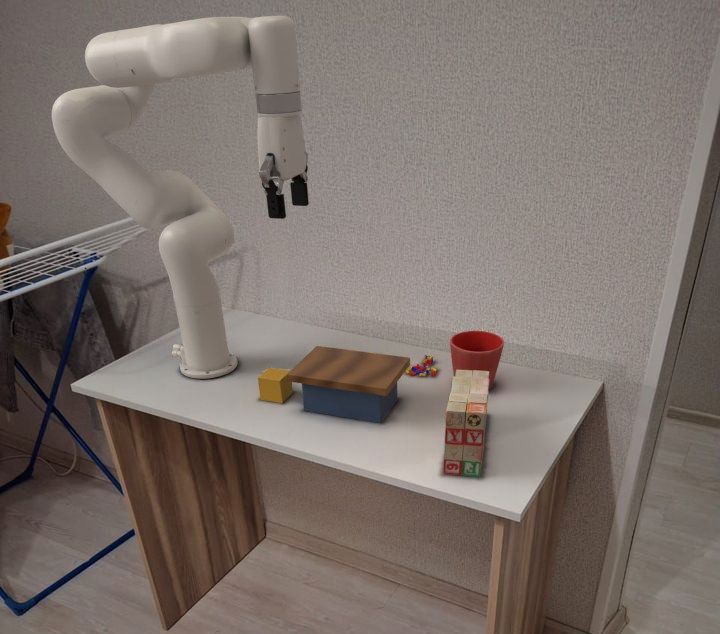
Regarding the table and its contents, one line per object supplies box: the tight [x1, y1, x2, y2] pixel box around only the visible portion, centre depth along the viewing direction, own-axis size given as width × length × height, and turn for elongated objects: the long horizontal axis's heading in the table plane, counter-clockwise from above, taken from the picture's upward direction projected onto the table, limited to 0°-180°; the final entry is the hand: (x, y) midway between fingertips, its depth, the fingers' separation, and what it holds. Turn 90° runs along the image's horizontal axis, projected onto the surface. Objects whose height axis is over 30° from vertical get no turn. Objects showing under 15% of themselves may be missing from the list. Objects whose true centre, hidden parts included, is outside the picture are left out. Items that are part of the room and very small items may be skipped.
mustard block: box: [257, 366, 294, 404], centre depth 137 cm, size 5×5×5 cm
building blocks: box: [405, 353, 438, 378], centre depth 146 cm, size 6×8×2 cm
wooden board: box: [287, 345, 411, 396], centre depth 129 cm, size 20×14×2 cm
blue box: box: [301, 382, 398, 424], centre depth 132 cm, size 16×10×7 cm, turn 69°
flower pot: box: [449, 330, 505, 390], centre depth 137 cm, size 11×11×10 cm
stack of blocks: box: [442, 370, 490, 478], centre depth 117 cm, size 21×6×12 cm, turn 169°
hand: (289, 211), depth 123 cm, fingers open, 9 cm apart
